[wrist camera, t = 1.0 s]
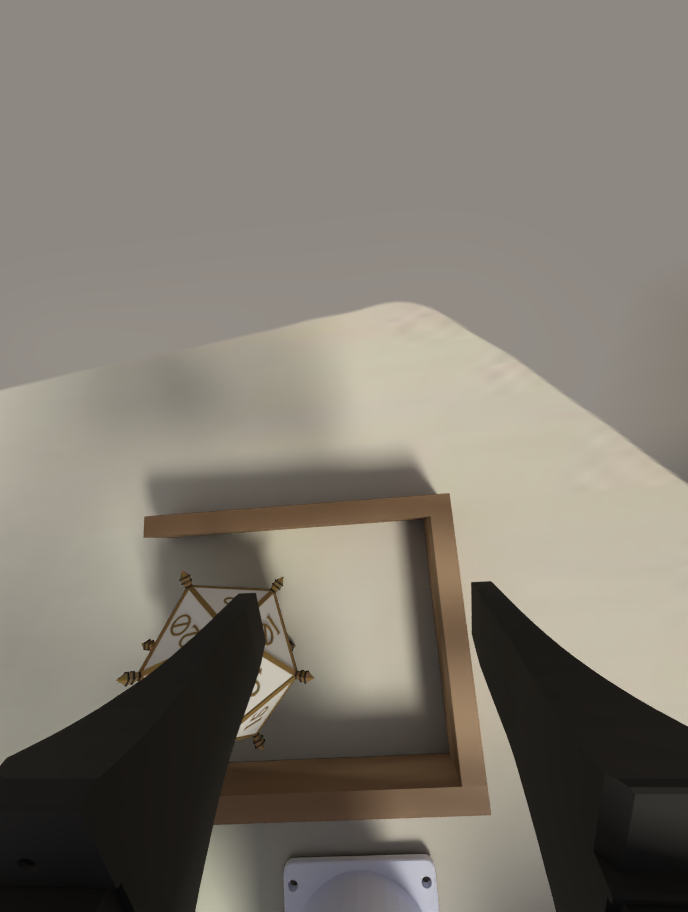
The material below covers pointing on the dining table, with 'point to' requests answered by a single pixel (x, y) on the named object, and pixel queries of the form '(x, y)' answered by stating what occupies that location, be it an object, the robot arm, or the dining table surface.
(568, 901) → the robot arm
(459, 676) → the wooden arch frame
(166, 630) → the game die
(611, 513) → the dining table surface
